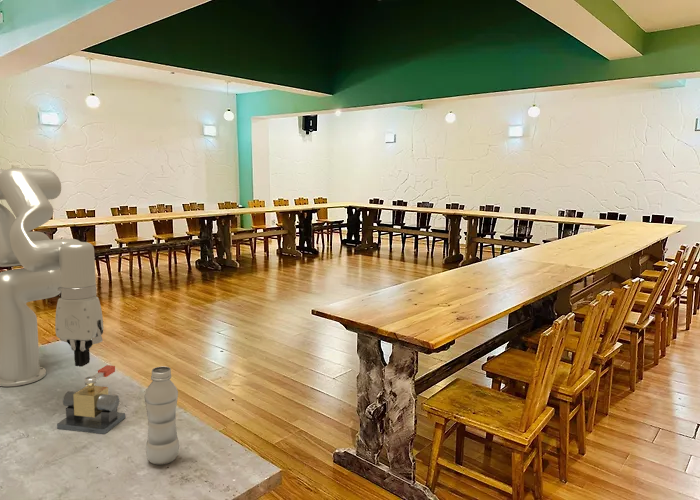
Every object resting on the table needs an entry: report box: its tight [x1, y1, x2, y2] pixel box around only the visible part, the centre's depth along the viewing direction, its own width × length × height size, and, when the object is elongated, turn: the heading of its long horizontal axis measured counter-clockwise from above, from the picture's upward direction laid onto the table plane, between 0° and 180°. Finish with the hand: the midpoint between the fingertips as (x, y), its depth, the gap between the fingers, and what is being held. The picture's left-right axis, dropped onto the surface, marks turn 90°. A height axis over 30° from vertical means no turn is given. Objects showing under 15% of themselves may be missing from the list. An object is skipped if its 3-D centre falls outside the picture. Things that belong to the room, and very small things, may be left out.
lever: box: [84, 364, 116, 386], centre depth 118 cm, size 9×2×2 cm, turn 172°
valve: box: [56, 384, 126, 435], centre depth 115 cm, size 12×8×10 cm, turn 82°
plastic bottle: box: [143, 366, 180, 466], centre depth 101 cm, size 6×7×20 cm
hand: (82, 364), depth 121 cm, fingers closed
